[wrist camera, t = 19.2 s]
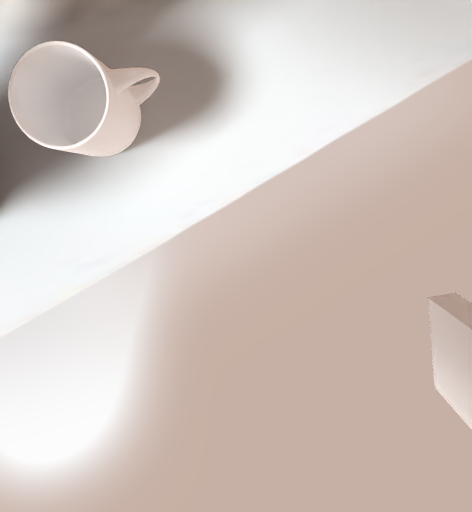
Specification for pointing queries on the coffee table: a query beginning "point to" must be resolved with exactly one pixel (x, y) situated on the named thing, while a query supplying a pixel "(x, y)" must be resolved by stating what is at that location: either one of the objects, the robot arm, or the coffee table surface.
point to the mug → (77, 99)
